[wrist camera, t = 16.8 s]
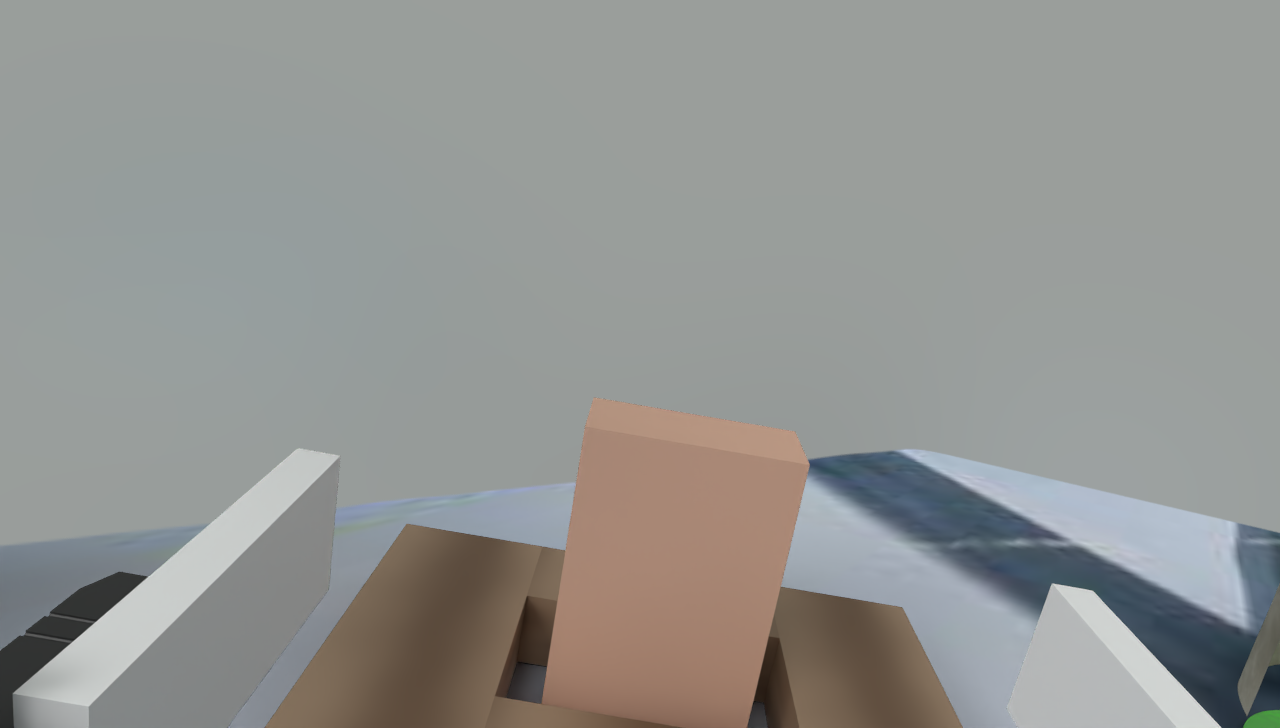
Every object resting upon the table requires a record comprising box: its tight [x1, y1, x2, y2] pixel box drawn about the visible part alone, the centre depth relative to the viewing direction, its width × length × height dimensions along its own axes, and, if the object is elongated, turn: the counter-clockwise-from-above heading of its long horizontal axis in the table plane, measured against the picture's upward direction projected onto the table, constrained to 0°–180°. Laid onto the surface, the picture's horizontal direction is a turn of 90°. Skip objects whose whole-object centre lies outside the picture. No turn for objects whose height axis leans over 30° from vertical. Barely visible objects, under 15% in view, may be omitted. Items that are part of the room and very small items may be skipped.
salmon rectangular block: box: [541, 398, 810, 728], centre depth 28 cm, size 7×3×12 cm, turn 88°
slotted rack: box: [265, 524, 963, 728], centre depth 29 cm, size 22×14×3 cm, turn 88°
